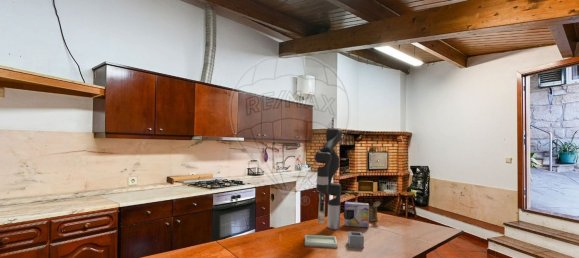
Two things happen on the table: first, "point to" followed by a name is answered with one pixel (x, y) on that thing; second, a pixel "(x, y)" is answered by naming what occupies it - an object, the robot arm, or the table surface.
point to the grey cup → (355, 239)
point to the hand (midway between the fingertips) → (321, 210)
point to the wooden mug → (373, 211)
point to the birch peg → (321, 214)
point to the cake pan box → (356, 214)
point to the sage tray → (321, 241)
